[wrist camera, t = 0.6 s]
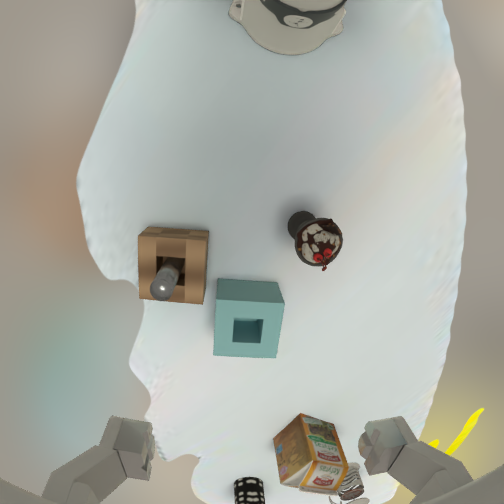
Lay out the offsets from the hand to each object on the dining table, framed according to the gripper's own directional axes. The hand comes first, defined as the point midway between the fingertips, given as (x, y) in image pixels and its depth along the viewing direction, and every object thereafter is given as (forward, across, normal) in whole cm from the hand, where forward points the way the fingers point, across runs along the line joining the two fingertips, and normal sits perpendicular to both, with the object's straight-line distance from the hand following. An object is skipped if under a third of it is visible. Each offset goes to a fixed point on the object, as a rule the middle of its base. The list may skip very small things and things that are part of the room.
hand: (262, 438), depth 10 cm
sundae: (+42, -11, 0) cm, 43 cm away
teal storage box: (+42, -2, +15) cm, 44 cm away
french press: (+43, -36, +72) cm, 91 cm away
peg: (+40, +9, +7) cm, 42 cm away
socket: (+42, +9, +7) cm, 43 cm away
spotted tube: (+43, -8, +75) cm, 87 cm away
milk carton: (+42, -19, +49) cm, 68 cm away
